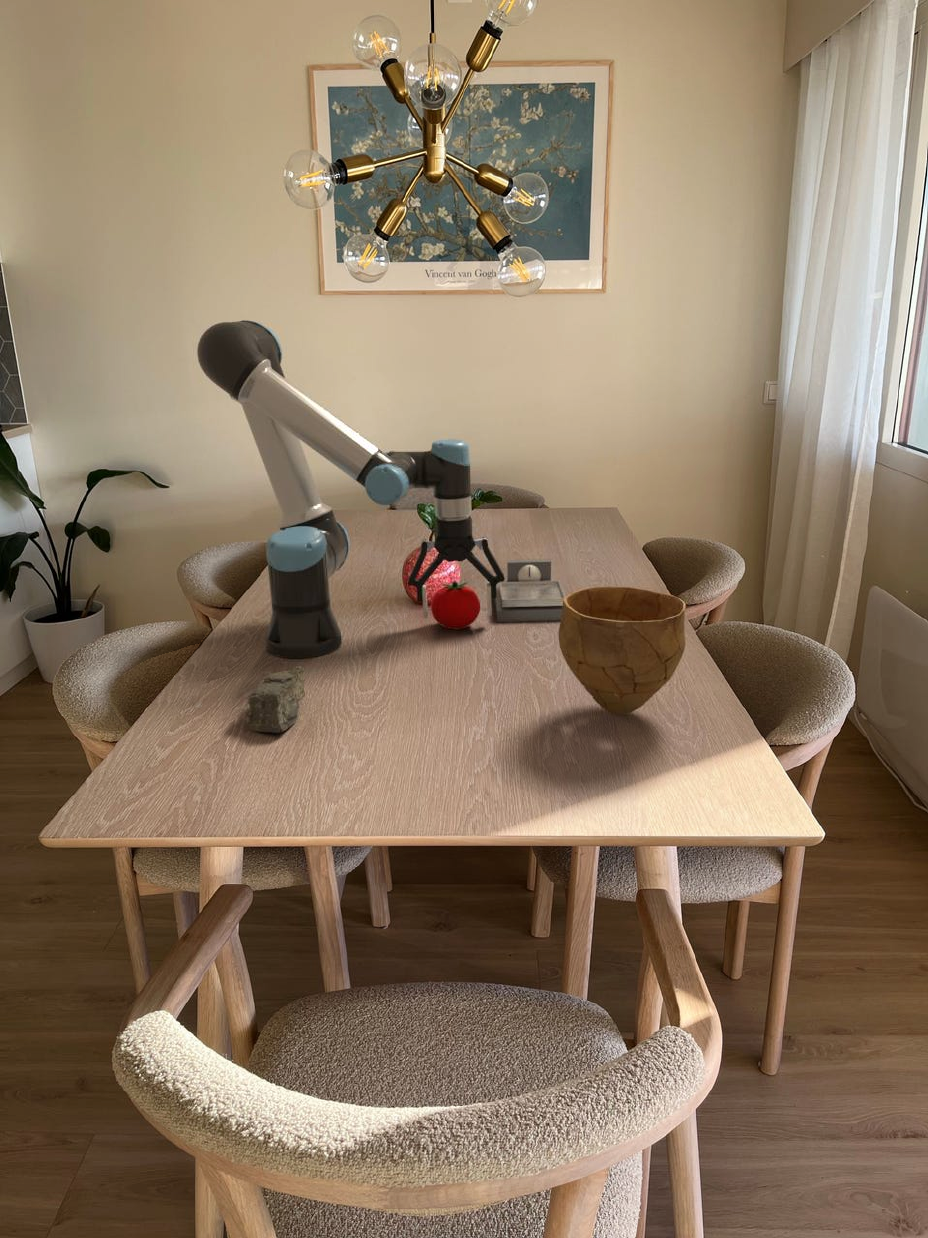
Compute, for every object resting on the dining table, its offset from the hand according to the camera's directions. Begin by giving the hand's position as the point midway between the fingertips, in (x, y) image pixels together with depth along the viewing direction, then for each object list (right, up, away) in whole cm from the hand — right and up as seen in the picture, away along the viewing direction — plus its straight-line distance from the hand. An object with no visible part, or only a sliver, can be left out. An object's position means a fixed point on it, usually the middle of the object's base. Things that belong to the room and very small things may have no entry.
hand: (457, 615), depth 198 cm
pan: (+17, +4, +10) cm, 20 cm away
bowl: (+27, -17, -42) cm, 53 cm away
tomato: (0, -3, +1) cm, 3 cm away
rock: (-30, -18, -41) cm, 54 cm away
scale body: (+17, +2, +12) cm, 21 cm away
